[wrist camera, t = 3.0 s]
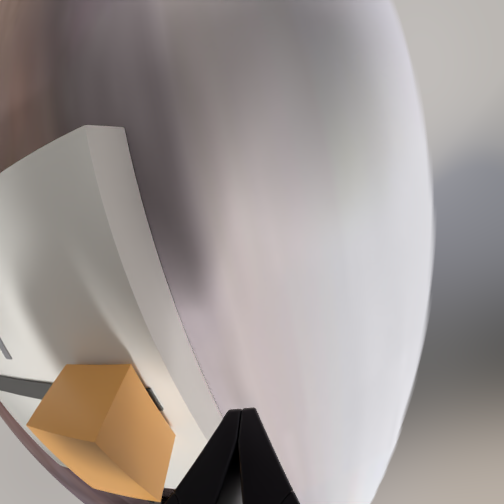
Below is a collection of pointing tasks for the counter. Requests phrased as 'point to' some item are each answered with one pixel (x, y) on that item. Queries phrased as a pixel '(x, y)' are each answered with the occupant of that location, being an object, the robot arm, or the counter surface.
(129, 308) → the fader console
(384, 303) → the counter surface
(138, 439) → the fader knob
